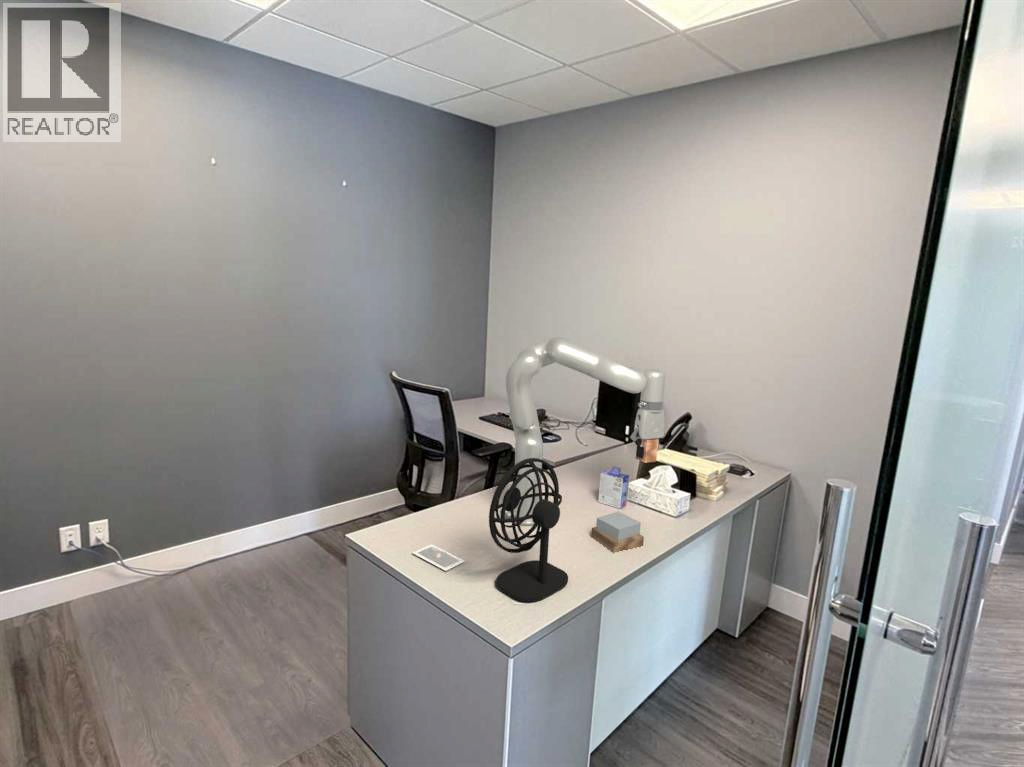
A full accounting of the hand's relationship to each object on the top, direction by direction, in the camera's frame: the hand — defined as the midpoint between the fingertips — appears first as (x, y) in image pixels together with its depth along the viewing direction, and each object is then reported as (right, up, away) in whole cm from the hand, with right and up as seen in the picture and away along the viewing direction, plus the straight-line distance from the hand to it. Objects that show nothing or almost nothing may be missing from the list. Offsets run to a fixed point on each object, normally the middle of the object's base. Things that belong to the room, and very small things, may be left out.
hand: (646, 455), depth 188 cm
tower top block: (-12, -23, -11) cm, 29 cm away
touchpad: (-69, -28, -27) cm, 79 cm away
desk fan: (-42, -30, -37) cm, 64 cm away
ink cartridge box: (-8, -22, +21) cm, 31 cm away
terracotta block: (0, -1, 0) cm, 2 cm away
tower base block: (-12, -27, -11) cm, 32 cm away
